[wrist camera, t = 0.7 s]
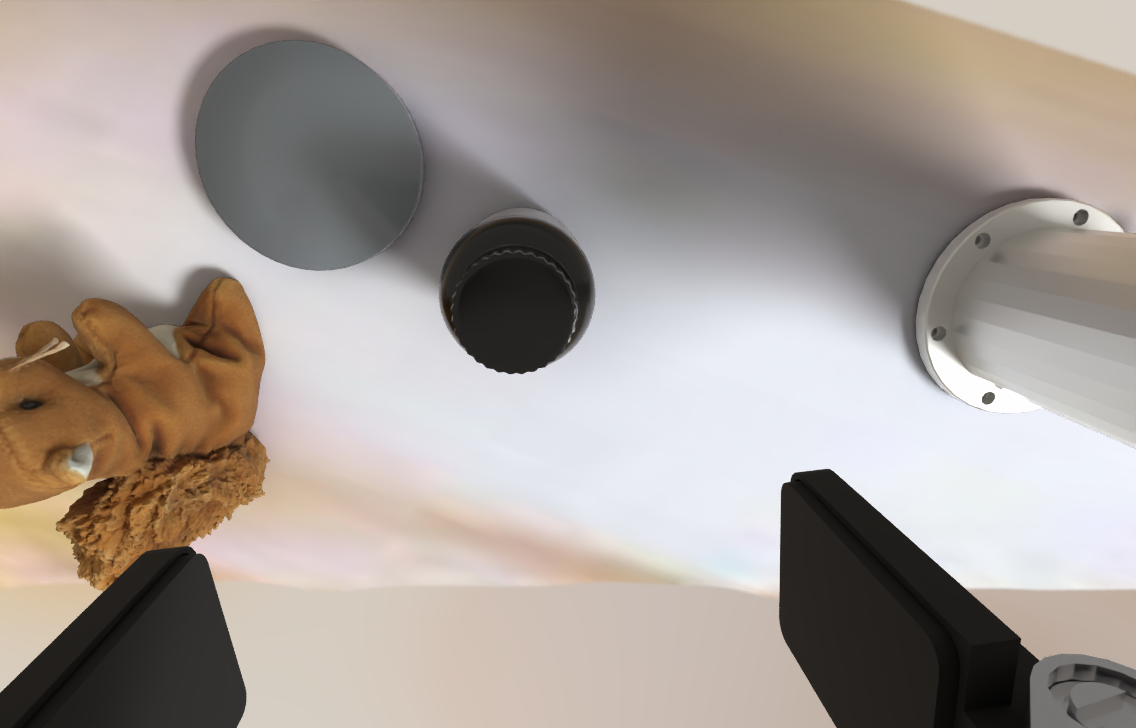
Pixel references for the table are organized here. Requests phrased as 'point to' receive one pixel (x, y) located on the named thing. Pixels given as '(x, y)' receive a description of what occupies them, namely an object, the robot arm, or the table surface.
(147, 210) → the table surface
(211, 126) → the slate plate
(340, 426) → the table surface
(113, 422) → the stuffed squirrel
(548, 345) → the supplement bottle
